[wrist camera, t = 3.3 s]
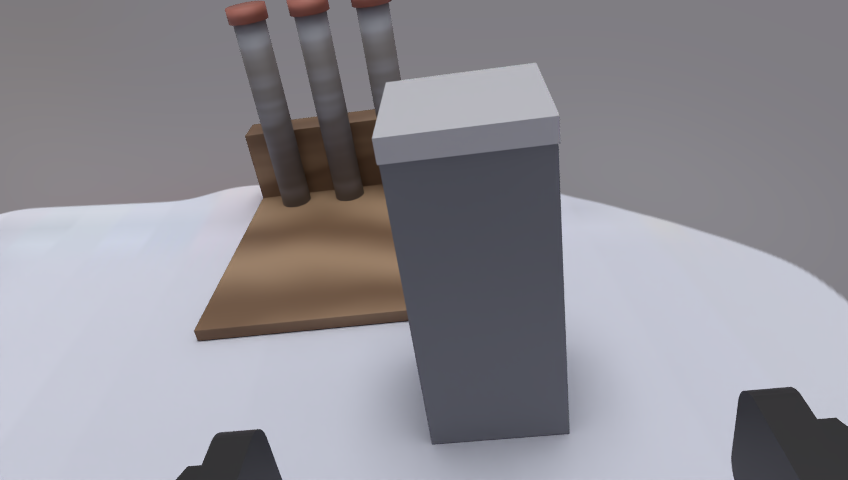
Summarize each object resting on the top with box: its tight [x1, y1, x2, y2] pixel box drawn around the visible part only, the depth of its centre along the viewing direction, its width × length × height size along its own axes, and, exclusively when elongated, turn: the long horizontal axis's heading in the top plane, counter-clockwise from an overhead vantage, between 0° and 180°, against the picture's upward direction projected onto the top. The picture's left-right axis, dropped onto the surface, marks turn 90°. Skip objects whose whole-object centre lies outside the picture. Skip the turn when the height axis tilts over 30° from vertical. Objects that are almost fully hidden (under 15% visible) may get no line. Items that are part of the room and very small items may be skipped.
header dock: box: [194, 0, 409, 341], centre depth 35 cm, size 16×12×13 cm
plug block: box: [372, 63, 569, 444], centre depth 23 cm, size 5×5×12 cm
